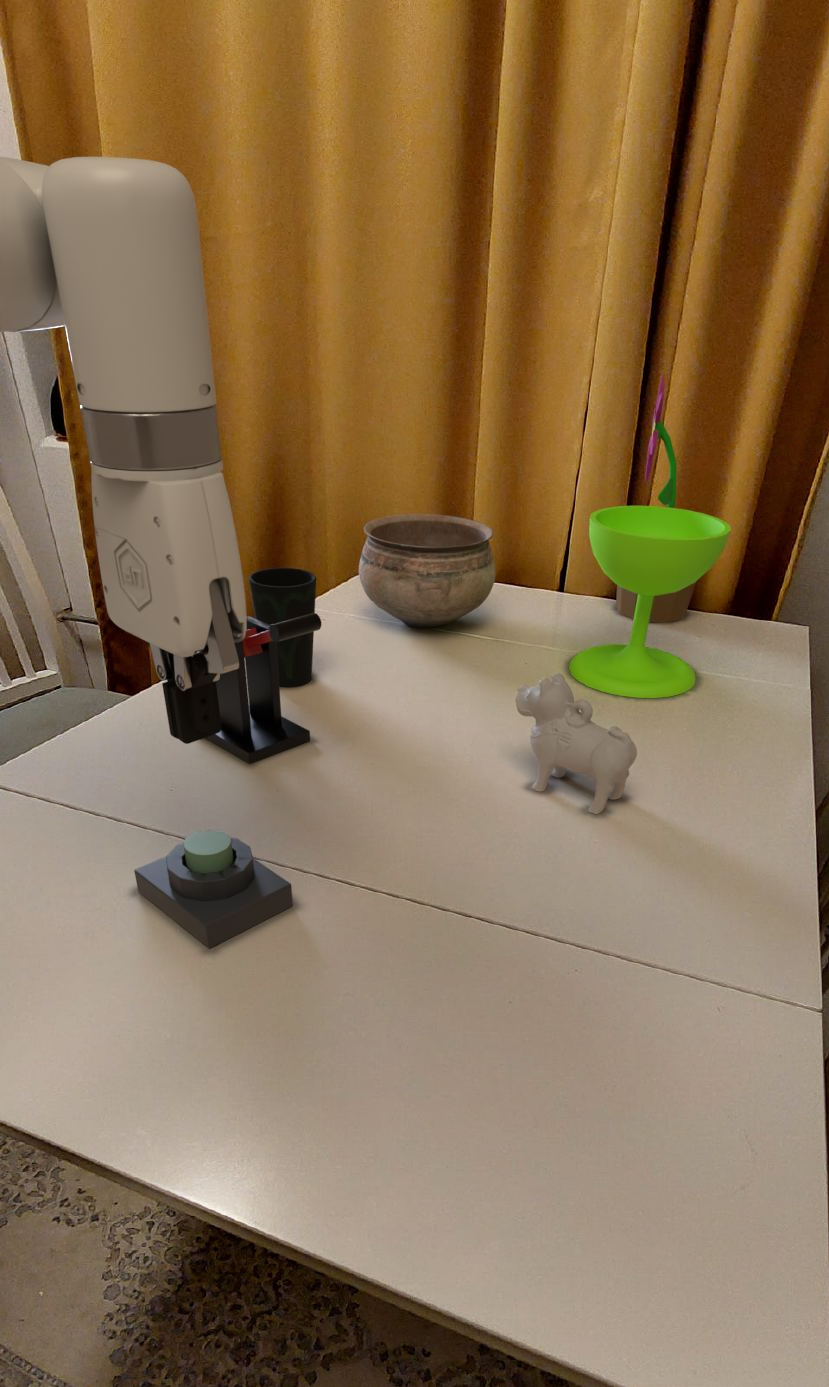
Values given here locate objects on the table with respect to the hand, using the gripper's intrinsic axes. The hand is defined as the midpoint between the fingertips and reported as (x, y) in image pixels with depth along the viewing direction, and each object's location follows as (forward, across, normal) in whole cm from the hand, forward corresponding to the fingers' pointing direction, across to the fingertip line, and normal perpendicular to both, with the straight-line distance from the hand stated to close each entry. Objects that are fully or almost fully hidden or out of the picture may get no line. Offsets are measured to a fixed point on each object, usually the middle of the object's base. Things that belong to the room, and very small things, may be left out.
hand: (196, 734), depth 62 cm
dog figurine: (+15, +8, +36) cm, 40 cm away
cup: (+14, -32, +33) cm, 48 cm away
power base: (+14, 0, 0) cm, 14 cm away
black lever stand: (+14, -22, +20) cm, 33 cm away
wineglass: (+15, -5, +67) cm, 69 cm away
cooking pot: (+15, -36, +61) cm, 72 cm away
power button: (+11, 0, 0) cm, 11 cm away
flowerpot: (+15, -17, +90) cm, 93 cm away
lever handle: (+4, -18, +20) cm, 27 cm away
